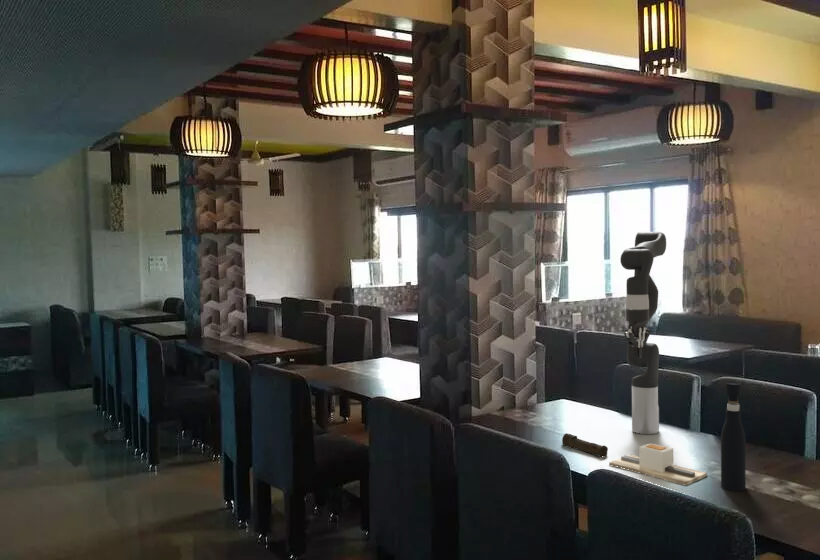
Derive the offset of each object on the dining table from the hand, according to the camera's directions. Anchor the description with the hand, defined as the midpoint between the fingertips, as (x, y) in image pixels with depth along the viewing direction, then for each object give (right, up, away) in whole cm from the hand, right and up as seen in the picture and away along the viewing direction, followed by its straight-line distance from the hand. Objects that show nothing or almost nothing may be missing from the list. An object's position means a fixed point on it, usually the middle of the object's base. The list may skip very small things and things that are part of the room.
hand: (637, 358), depth 244 cm
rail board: (-2, -32, -24) cm, 40 cm away
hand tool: (-19, -32, -1) cm, 37 cm away
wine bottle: (+14, -33, -40) cm, 54 cm away
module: (-2, -31, -24) cm, 39 cm away
